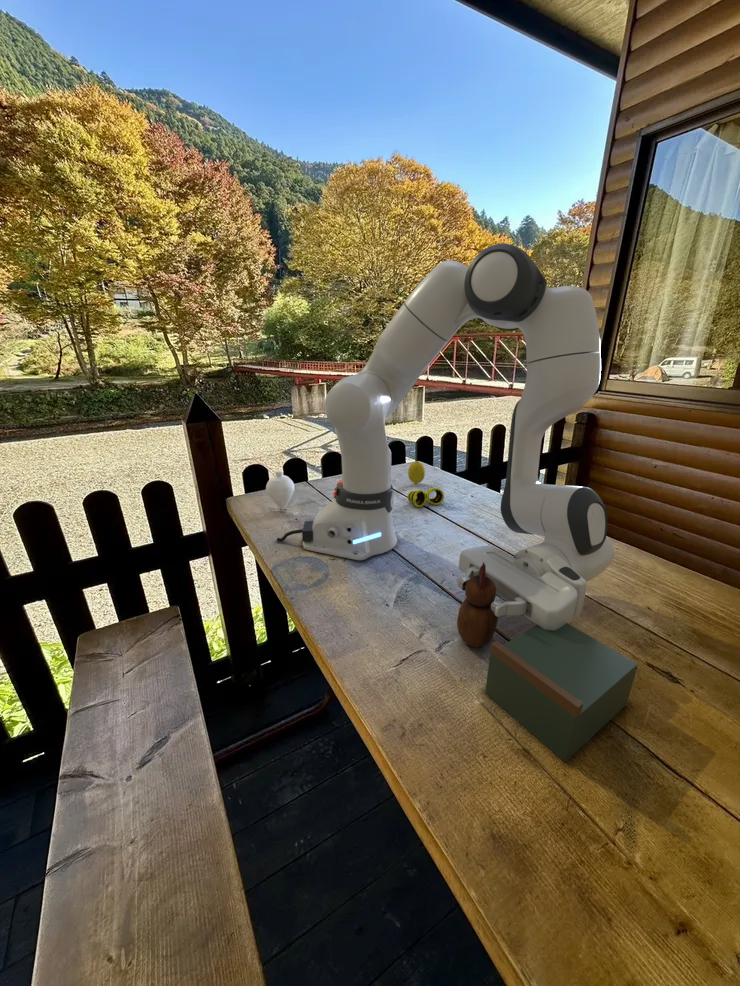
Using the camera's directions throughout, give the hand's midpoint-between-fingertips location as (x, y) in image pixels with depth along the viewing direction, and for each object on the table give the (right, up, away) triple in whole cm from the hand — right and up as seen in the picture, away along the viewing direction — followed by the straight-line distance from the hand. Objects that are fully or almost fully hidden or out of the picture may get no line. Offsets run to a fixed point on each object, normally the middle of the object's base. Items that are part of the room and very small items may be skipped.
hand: (475, 596), depth 63 cm
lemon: (-1, +19, +72) cm, 75 cm away
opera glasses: (0, +13, +57) cm, 58 cm away
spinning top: (-41, +11, +52) cm, 67 cm away
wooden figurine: (+1, -8, +4) cm, 9 cm away
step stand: (+9, -12, -7) cm, 17 cm away
